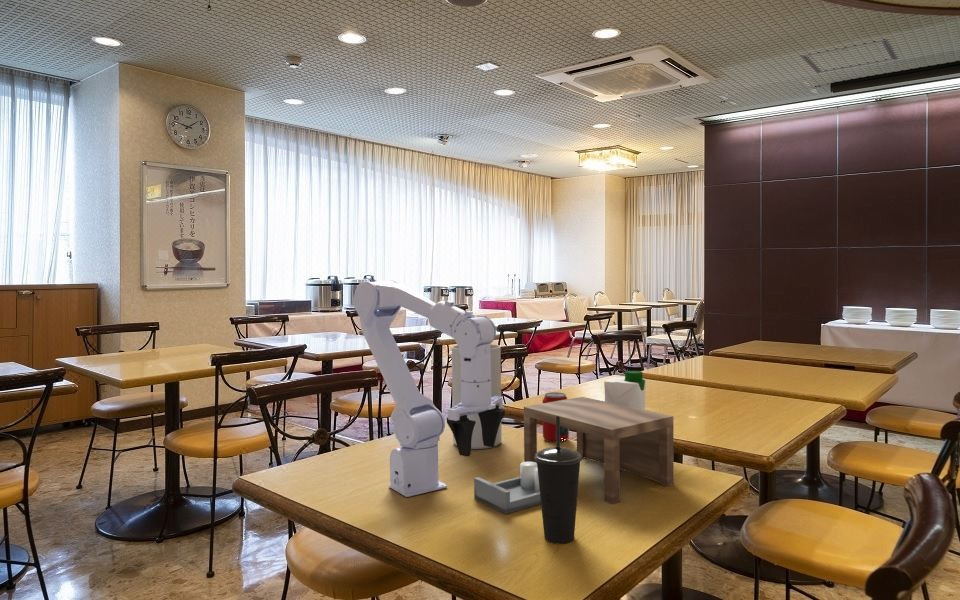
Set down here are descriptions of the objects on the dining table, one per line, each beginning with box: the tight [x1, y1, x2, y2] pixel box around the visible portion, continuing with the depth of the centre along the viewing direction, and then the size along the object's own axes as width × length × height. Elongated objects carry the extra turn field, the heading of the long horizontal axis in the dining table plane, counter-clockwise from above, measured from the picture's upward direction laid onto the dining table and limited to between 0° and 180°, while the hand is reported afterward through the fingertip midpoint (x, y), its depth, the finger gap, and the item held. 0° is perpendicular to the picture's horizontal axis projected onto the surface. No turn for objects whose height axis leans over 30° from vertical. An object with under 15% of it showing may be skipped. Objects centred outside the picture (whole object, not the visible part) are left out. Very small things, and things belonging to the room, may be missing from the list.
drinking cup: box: [535, 416, 583, 545], centre depth 100 cm, size 8×8×20 cm
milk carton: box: [603, 370, 647, 410], centre depth 146 cm, size 9×9×20 cm
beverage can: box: [542, 392, 570, 443], centre depth 160 cm, size 7×7×12 cm
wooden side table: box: [523, 396, 675, 505], centre depth 131 cm, size 18×26×14 cm
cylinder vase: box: [451, 343, 503, 450], centre depth 158 cm, size 12×12×25 cm
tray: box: [473, 461, 541, 515], centre depth 119 cm, size 16×10×5 cm, turn 125°
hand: (477, 450), depth 118 cm, fingers open, 7 cm apart
